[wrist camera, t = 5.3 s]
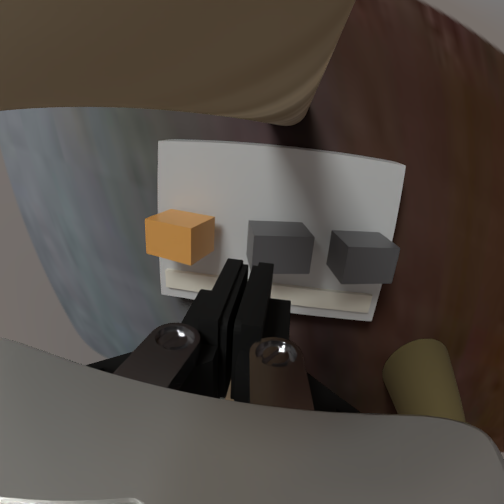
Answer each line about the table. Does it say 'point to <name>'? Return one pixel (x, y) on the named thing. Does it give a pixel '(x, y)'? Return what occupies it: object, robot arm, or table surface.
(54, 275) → the table surface
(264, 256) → the grey block
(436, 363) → the cork
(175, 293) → the panel
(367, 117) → the table surface
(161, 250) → the orange block
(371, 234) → the grey block
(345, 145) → the table surface
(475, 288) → the table surface
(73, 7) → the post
